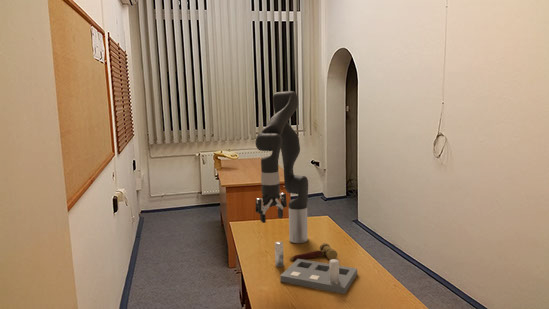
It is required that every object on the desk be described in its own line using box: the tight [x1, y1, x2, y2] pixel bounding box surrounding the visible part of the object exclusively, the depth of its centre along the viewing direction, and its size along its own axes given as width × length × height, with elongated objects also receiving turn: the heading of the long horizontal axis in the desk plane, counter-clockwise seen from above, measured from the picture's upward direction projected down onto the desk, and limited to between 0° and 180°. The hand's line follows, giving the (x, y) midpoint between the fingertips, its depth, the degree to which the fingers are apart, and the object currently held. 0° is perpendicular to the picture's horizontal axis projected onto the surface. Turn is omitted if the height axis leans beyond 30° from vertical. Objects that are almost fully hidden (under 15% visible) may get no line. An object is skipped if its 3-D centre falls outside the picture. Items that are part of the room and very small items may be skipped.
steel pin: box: [274, 241, 285, 268], centre depth 175 cm, size 4×4×10 cm
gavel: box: [289, 242, 338, 262], centre depth 183 cm, size 21×5×10 cm
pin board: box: [279, 258, 358, 295], centre depth 162 cm, size 18×26×10 cm
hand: (271, 220), depth 169 cm, fingers open, 8 cm apart
